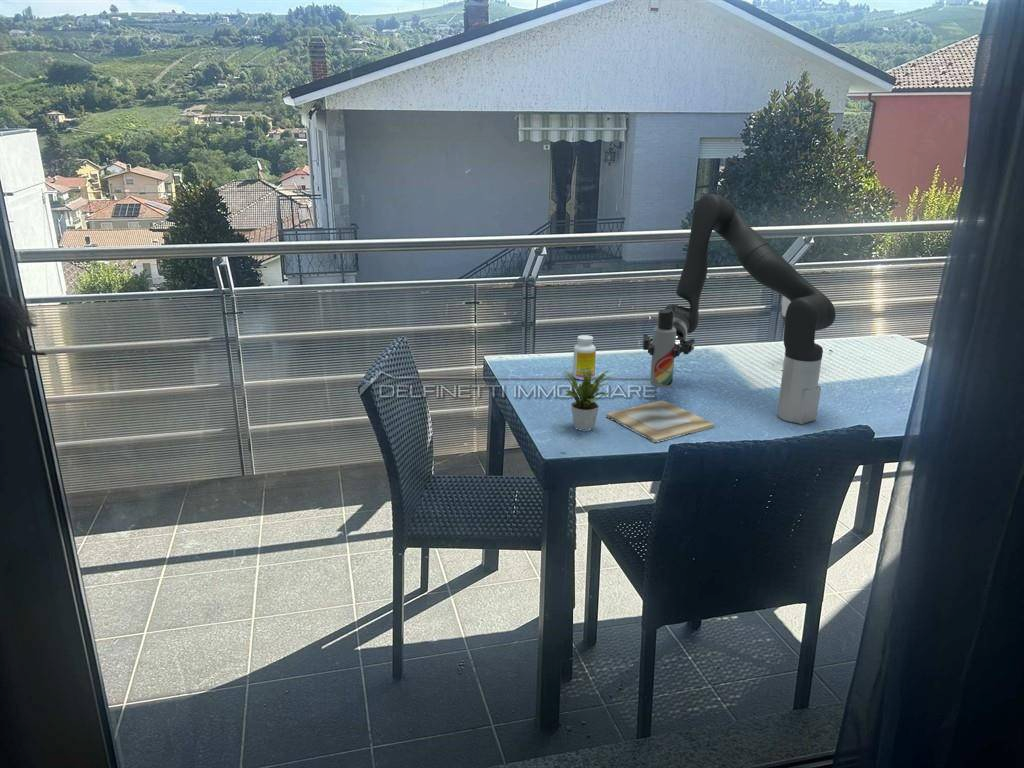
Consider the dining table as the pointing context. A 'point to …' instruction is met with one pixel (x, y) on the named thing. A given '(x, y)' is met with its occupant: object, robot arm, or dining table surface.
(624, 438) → the dining table surface
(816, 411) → the robot arm
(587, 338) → the supplement bottle
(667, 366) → the lotion bottle
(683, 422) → the dock
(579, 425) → the house plant
